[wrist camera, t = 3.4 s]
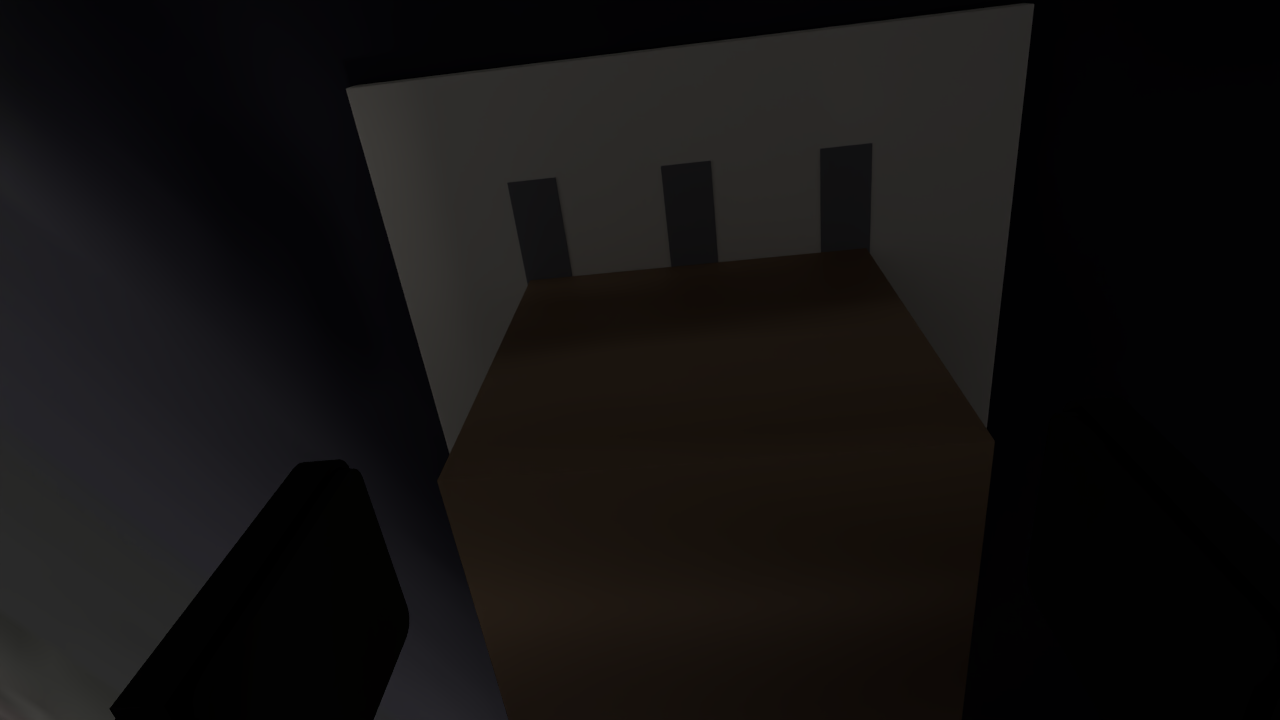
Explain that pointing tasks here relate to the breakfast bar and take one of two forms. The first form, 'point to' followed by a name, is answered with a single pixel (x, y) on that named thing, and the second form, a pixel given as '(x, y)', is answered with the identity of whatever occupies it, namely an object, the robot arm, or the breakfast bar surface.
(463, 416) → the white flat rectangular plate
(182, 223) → the breakfast bar surface
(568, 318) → the walnut block
